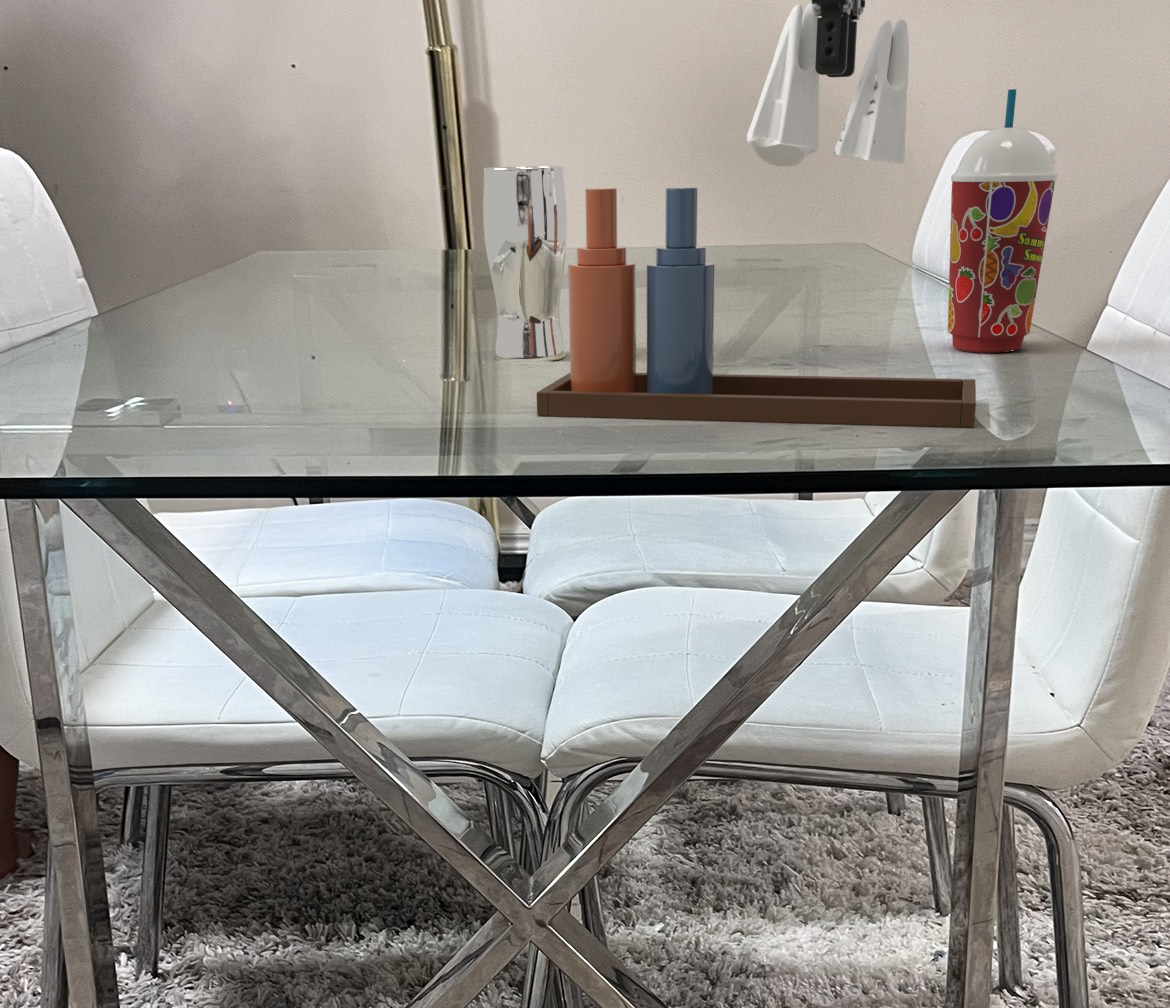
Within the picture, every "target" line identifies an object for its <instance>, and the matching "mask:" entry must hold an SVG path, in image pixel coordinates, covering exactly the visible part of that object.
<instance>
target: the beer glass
mask: <svg viewBox="0 0 1170 1008" xmlns="http://www.w3.org/2000/svg"><path fill="white" fill-rule="evenodd" d="M564 169H565V167H564V166H563V165H534V166H533V165H532V166H531V165H530V166H529V165H527V166H525V165H524V166H493V167H491V166H490V167H484V168H483V187H482V225H483V239H484V246H485V252H486V258H487V263H488V269H489V273H490V278H491V283H492V287H493V288H492V289H493V294H494V298H495V303H496V313H497V327H496V337H495V344H494V351H493V352H494V356H493V357H494V359H495V360H497V361H521V362H522V361H524V362H526V361H527V362H553V361H558V360H562V359H564V358H565V357H566V348H565V343H564V337H563V333H562V326H561V316H560V313H561V312H560V311H561V309H560V306H561V295H562V286H563V280H564V279H563V278H564V272H565V265H566V258H567V247H568V204H567V193H566V192H567V191H566V183H565V182H566V181H565V171H564Z"/></svg>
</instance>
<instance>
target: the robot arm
mask: <svg viewBox="0 0 1170 1008" xmlns="http://www.w3.org/2000/svg"><path fill="white" fill-rule="evenodd" d="M811 4H814V11H815V15H816V16H818V17H819V18H817V40H816V63H815V69H816V72H817V73H818V74H819V75H820V76H826V77H828V78H849V77H850V78H851V76H853V75H854V73H855V70H856V53H857V34H858V21H860V19H861V15H862V14H863V13H864V8H866V0H811Z"/></svg>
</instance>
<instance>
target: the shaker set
mask: <svg viewBox="0 0 1170 1008" xmlns="http://www.w3.org/2000/svg"><path fill="white" fill-rule="evenodd" d="M803 11H804V12H803ZM817 18H820V16H816V15H815V11H814V4H812V3H808V4H807V5H806V7H805V9H804V10H803V5H802V4H801V3H798V4H796V5H794V6H793V8H792V10H790V13H789V14H788V17H787V19H786V22H785V23H784V25H783V28H782V31H781V34H780V36H779V39H778V43H777V46H776V49H775V52H774V56H773V59H772V62H771V65H770V67H769V70H768V73H767V77H766V79H765V82H764V85H763V88H762V90H761V94H760V96H759V100H758V103H757V105H756V109H755V111H754V114H753V117H752V120H751V123H750V126H749V128H748V131H747V133H746V142H747V144H748V145H749V146H750V147H751V148H752V149H753V151H754V152H755V153H756V155H757V156H758V157H759V158H760V159H761V160H762V161H764V162H765V163H767V164H768V165H771V166H774V167H775V166H776V167H785V168H786V167H794V166H798V165H799V164H801V163H802V162H803V161H804V159H805V158H806V157H808V156H809V155H811V154H814V153H816V152H817V151H818V150H819V145H820V142H819V141H820V74H818V73H817V72H816V69H815V63H816V40H817ZM909 51H910V50H909V31H908V23H907V22H906V20H903V19H897V21H896V22H895V24H894V26H893V22H892V20H890V19H887V20H885V21H884V22H883V23H882V24H881V26H880V27H879V30H878V31H877V34H876V36H875V38H874V39H873V41H872V44H871V46H870V48H869V52H868V54H867V56H866V59H865V61H864V65H863V67H862V70H861V74H860V76H859V79H858V82H857V86H856V89H855V93H854V95H853V99H852V101H851V104H850V106H849V108H848V112H847V115H846V118H845V121H844V124H843V126H842V129H841V131H840V134H839V138H838V140H837V142H836V144H835V147H834V149H833V156H834V157H842V158H850V159H859V160H861V159H862V160H864V161H873V162H881V163H888V164H889V163H893V164H895V163H896V164H899V165H901V164H905V151H906V132H907V131H906V130H907V129H906V128H907V101H908V87H909V66H910V65H909V63H910V62H909V57H910V54H909Z"/></svg>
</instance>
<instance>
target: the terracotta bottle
mask: <svg viewBox="0 0 1170 1008" xmlns="http://www.w3.org/2000/svg"><path fill="white" fill-rule="evenodd" d="M584 190H585V192H584V193H585V194H584V195H585V235H586V236H585V245H584V246H578V247H577V248H576V256H577V257H576V259H577V260H576V261H577V262H572V263H569V264H568V265H567V276H568V279H567V280H568V319H569V320H568V322H569V323H568V325H569V367H570V369H569V370H570V371H569V373H570V375H571V391H586V392H629V393H636V373H637V263H636V262H635V261H634V262H633V261H627V260H628V259H627V258H628V257H627V256H628V255H627V251H628V250H627V248H628V247H627V246H624V245H618V189H617V188H616V187H592V188H591V187H589V188H585V189H584Z"/></svg>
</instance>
